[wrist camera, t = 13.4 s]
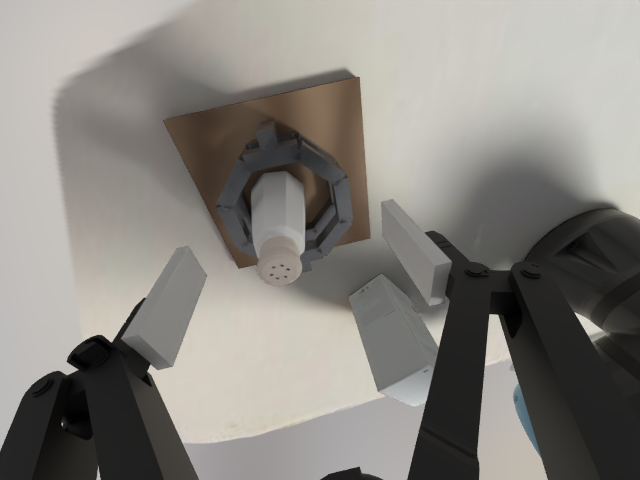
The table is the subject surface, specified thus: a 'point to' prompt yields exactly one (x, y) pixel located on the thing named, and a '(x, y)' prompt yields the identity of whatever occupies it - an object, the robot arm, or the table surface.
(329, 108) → the collar base
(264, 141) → the collar frame
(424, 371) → the small box
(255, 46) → the table surface
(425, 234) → the robot arm
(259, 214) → the pepper shaker
